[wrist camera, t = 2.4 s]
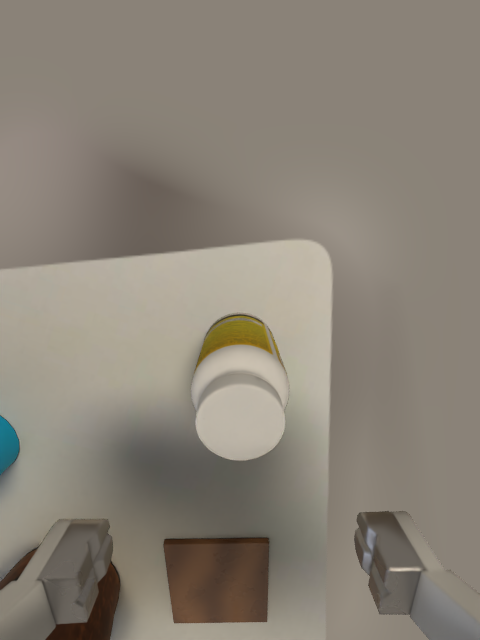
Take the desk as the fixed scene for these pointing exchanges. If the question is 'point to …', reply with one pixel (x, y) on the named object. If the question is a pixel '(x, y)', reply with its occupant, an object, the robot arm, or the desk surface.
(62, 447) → the desk surface
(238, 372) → the pill bottle
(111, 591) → the case
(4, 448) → the mug
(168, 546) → the brown wooden coaster
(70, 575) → the robot arm
